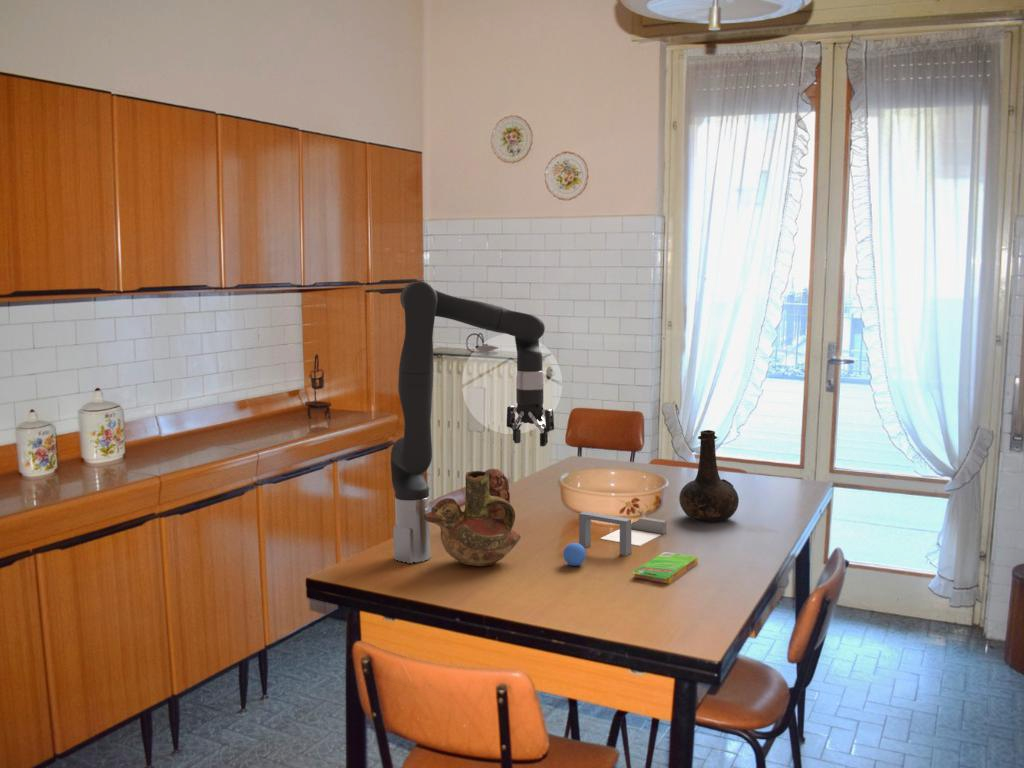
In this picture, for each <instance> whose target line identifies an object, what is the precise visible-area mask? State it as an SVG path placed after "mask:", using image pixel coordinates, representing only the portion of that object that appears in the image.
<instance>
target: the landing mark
mask: <svg viewBox="0 0 1024 768" xmlns="http://www.w3.org/2000/svg"><path fill="white" fill-rule="evenodd" d="M660 536H661V537H662V534H660V533H654V532H649V531H643V530H637V529H631V546H636V547H641V546H643V545H645V544H647V543H650V542H651V541H653V540H655V539H657V538H659V537H660ZM599 539H600V540H604V541H610V542H613V543H614V542H615V543H620V528H619V529H617V530H614V531H613V532H611V533H608V534H607V535H604V536H602V537H600V538H599Z"/></svg>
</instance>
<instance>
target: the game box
mask: <svg viewBox="0 0 1024 768" xmlns="http://www.w3.org/2000/svg"><path fill="white" fill-rule="evenodd" d="M698 558H699V557H697V556H693V555H687V554H686V555H685V554H682V553H681V554H680V553H675V552H667V551H663V552H662V553H660V554H659V555H657V556H655V557H654V558H652V559H651V560H649V561H647V562H646V563H644V564H642V565H640V566H639V567H638V568H636V569H634V570H633V571H632V574H633V576H634V578H638V579H642V580H643V579H644V580H647V581H654V582H658V583H664V584H671V583H673V582H674V581H675V580H677V579H678V578H679V577H682V576H683V575H684V574H685V573H686V572H688V571H689V570H690V569H692V568H694V567H695V566H696V565H698V563H699V562H698V561H699V559H698Z"/></svg>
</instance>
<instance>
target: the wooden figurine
mask: <svg viewBox="0 0 1024 768" xmlns="http://www.w3.org/2000/svg"><path fill="white" fill-rule="evenodd" d="M484 472H488V473H489V494H490V496H496V497H500V498H503V499H505V500H506V501H508V502H509V503H510V504H511V493H510V486H509V479H508V478H507V476H505V474H504V472H503V471H501V470H500V469H497V468H489V469H487V470H485V471H484ZM490 513H491V515H493V516H494V517H497V518H503V517H504V516H505V510H504V508H503V507H502V506H501V505H499V504H493V505H491V507H490Z"/></svg>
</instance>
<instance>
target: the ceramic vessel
mask: <svg viewBox="0 0 1024 768" xmlns="http://www.w3.org/2000/svg"><path fill="white" fill-rule="evenodd" d="M464 478H465V503H464V504H465V505H464V510H462V508H461V506H460V505H459V504H458V502H457V501H456V500H455V499H454V498H453V497H452V498H451V497H446V498H442V499H440V500H439V501H437V502H436V504H435V505H434V506H432V507H431V510H430V511H429V513H427V514H425V515H424V517H425V520H426V521H427V522H430V523H431V524H434V525H437V526H439V527H440V541H441V543H442V546H443V548H444V550H445V552H446V553H447V554H448V555H449V556H451V557H452V558H453V559H454V560H455V561H456V562H457V561H458V562H459V563H461V564H464V565H468V566H474V567H486V566H490V565H493V564H496V563H497V562H499V561H501V560H503V559H504V557H506V556H507V555H508V554H509V553H510V552H511V551H512V550H513V549H514V548H515V547H516V545H517V544H518V543H519V541H520V539H521V534H519V533H518V532H516V531H515V530H513V527H514V524H515V521H516V511H515V509H514V507H513V505H512V504H511V502H510V503H509V502H508V501H506V500H505V499H503V498H500V497H496V496H490V494H489V473H488V472H485V471H481V470H472V471H467V472H466V474H465V477H464ZM493 504H499V505H501V506H502V507H503V508H504V510H505V516H504V517H503V518H497V517H494V516H493V515H491V513H490V507H491V505H493Z"/></svg>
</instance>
